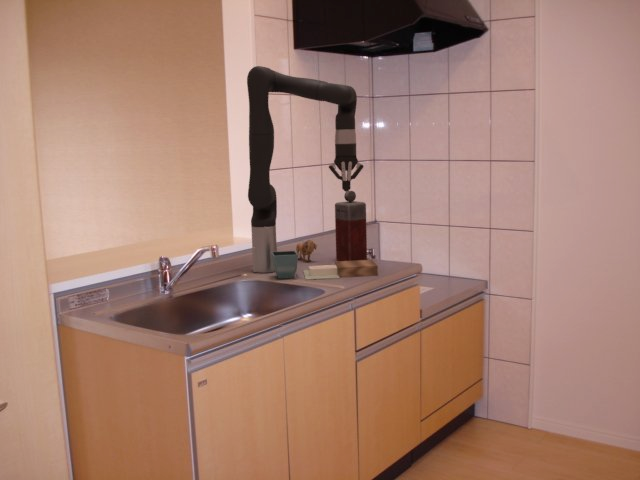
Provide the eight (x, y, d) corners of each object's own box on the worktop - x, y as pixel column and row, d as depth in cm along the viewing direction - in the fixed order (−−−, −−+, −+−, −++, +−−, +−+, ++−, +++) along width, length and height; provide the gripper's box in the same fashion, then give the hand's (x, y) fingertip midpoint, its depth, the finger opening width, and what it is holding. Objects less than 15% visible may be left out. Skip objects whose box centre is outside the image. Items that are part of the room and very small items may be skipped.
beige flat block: (310, 276, 260) (309, 269, 259) (309, 272, 265) (308, 266, 265) (337, 274, 260) (337, 268, 260) (336, 271, 266) (335, 264, 266)
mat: (305, 279, 255) (305, 279, 254) (303, 271, 270) (302, 270, 270) (339, 278, 256) (339, 277, 255) (334, 269, 271) (334, 268, 271)
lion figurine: (319, 262, 288) (318, 239, 286) (308, 263, 285) (307, 241, 283) (299, 257, 300) (298, 235, 298) (288, 258, 297) (287, 237, 295)
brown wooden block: (338, 277, 257) (338, 267, 257) (335, 270, 269) (335, 261, 269) (377, 275, 259) (377, 265, 258) (372, 268, 270) (372, 259, 270)
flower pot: (295, 274, 265) (294, 250, 264) (299, 279, 256) (298, 254, 255) (271, 275, 263) (270, 251, 262) (274, 280, 255) (273, 255, 253)
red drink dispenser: (349, 256, 297) (348, 189, 292) (367, 260, 288) (365, 190, 283) (332, 259, 291) (330, 190, 287) (349, 263, 283) (348, 192, 278)
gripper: (328, 143, 252) (329, 192, 255) (365, 142, 253) (366, 191, 256) (326, 142, 259) (327, 190, 262) (362, 141, 260) (363, 189, 263)
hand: (346, 191), depth 259 cm, fingers closed
